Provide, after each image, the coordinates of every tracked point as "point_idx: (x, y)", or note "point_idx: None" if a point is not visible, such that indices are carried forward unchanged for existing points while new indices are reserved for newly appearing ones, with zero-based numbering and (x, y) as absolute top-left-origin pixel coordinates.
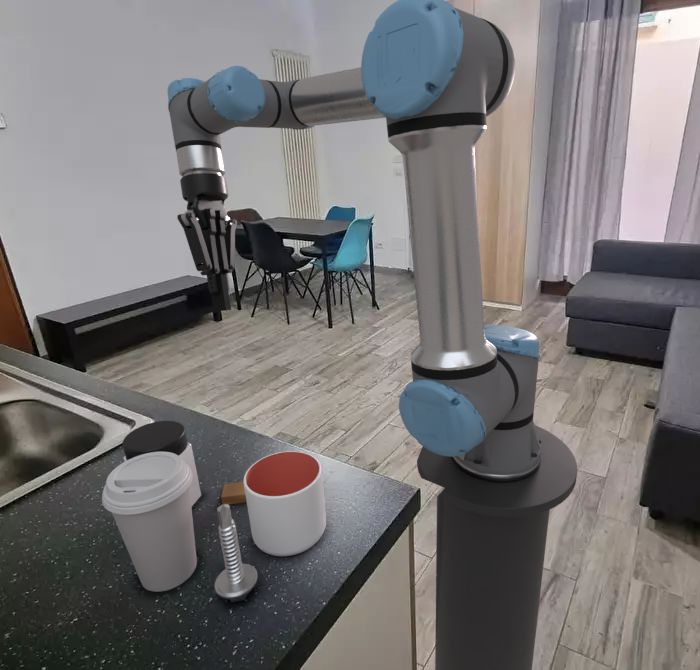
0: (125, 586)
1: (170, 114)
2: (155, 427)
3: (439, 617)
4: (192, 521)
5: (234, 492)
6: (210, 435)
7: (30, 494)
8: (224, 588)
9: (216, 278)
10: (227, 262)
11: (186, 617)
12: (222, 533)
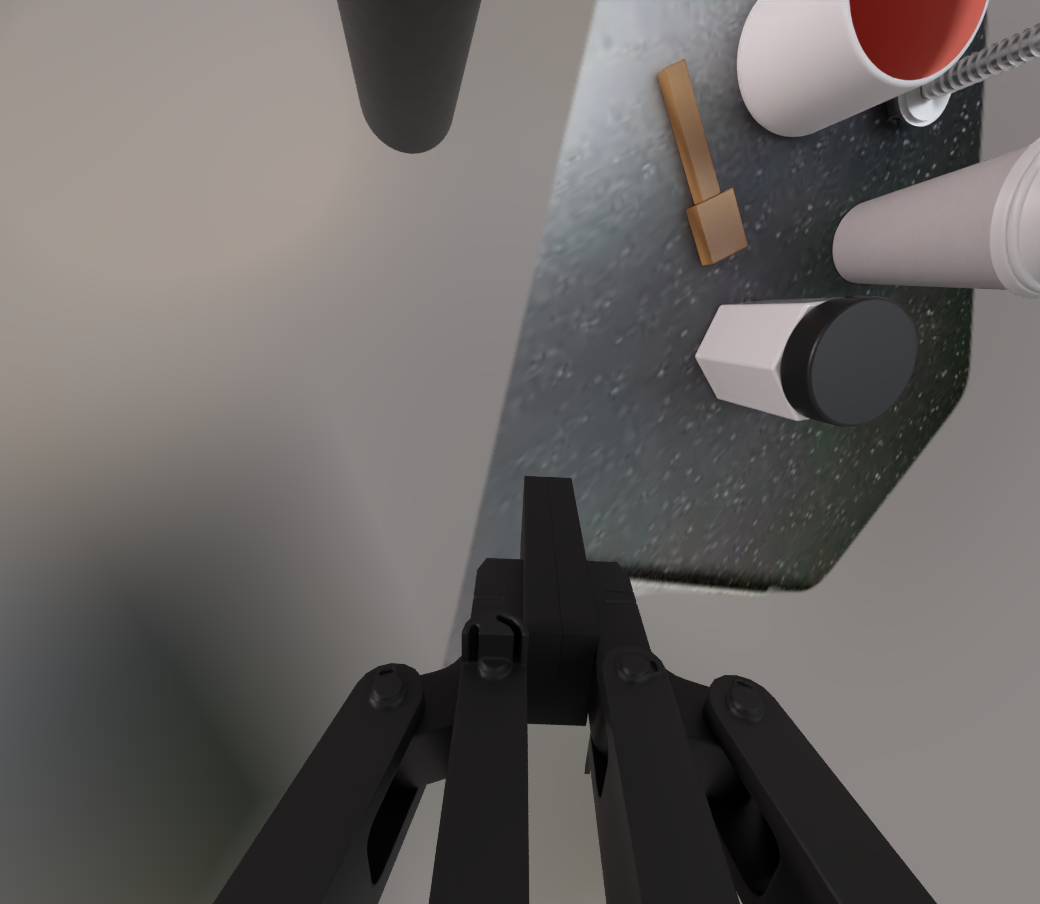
0: (888, 288)
1: None
2: (839, 385)
3: (458, 15)
4: (934, 180)
5: (733, 226)
6: (535, 426)
7: (743, 583)
8: (945, 96)
9: (613, 630)
10: (458, 732)
11: (930, 160)
12: None
